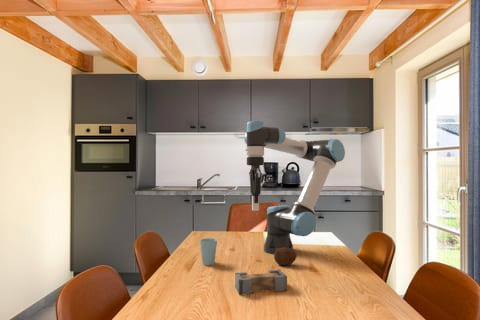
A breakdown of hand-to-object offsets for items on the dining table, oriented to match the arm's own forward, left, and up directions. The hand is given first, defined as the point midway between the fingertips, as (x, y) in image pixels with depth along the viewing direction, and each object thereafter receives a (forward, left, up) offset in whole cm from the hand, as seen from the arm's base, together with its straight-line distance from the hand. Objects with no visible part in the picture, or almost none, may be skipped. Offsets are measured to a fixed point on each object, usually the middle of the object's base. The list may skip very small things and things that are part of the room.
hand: (255, 210), depth 136 cm
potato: (-13, +1, -25) cm, 28 cm away
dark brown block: (+5, +24, -25) cm, 35 cm away
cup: (+20, -9, -25) cm, 33 cm away
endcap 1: (+11, +24, -24) cm, 36 cm away
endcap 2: (-2, +24, -24) cm, 34 cm away
